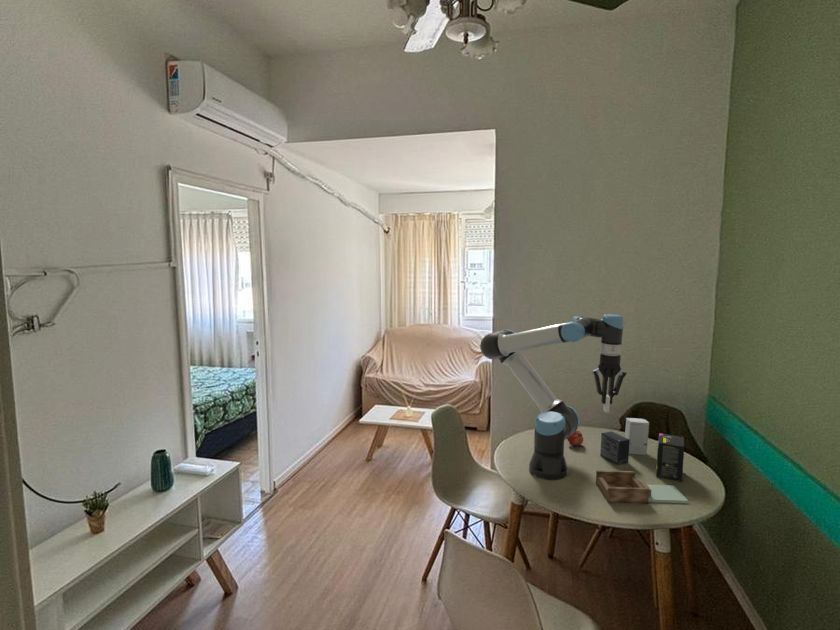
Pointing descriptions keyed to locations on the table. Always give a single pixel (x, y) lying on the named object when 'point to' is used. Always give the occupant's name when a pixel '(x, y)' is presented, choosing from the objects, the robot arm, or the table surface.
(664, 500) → the cover plate
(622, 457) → the small box
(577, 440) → the pomegranate
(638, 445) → the skincare box
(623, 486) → the box
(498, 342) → the robot arm
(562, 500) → the table surface
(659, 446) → the tampon box
